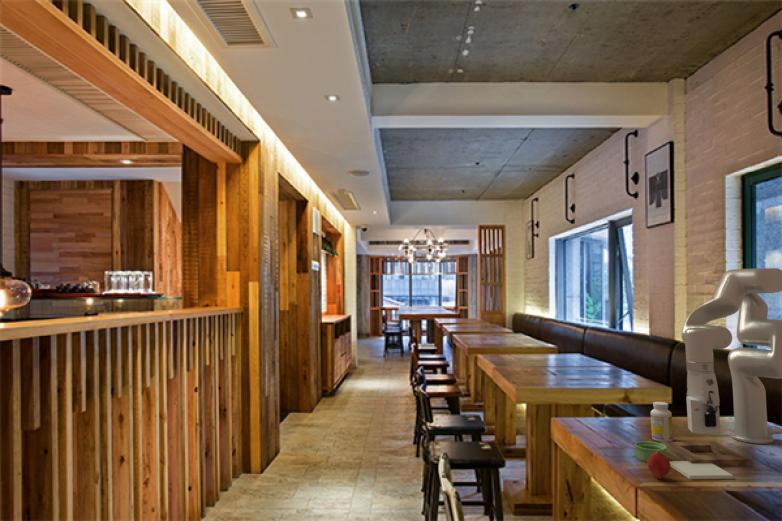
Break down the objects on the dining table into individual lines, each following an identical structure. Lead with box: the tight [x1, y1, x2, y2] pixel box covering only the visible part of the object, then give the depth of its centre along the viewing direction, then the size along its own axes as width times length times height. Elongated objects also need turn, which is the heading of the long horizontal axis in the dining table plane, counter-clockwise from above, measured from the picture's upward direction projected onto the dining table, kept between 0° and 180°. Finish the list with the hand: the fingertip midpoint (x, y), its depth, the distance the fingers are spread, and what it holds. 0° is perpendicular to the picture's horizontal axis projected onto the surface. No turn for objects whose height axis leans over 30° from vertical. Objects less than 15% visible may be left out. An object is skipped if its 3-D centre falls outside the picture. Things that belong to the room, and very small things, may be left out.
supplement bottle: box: [650, 401, 674, 443], centre depth 182 cm, size 7×7×13 cm
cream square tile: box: [669, 460, 734, 480], centre depth 151 cm, size 12×12×1 cm
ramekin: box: [634, 440, 667, 463], centre depth 162 cm, size 9×9×4 cm
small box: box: [686, 395, 722, 436], centre depth 165 cm, size 8×6×10 cm
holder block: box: [660, 440, 753, 467], centre depth 164 cm, size 18×18×2 cm
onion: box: [646, 450, 672, 479], centre depth 146 cm, size 6×6×8 cm
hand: (703, 422), depth 165 cm, fingers closed on small box, 6 cm apart
